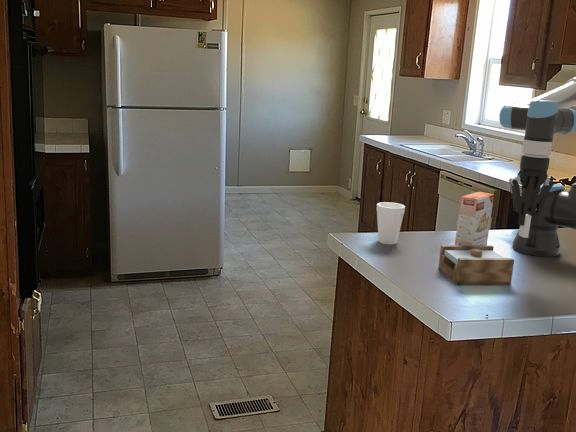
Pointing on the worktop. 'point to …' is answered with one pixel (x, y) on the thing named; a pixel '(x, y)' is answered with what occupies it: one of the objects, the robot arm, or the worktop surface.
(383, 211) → the foam cup
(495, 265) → the box
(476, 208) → the cracker box
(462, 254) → the lid
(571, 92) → the robot arm
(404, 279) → the worktop surface
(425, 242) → the worktop surface
